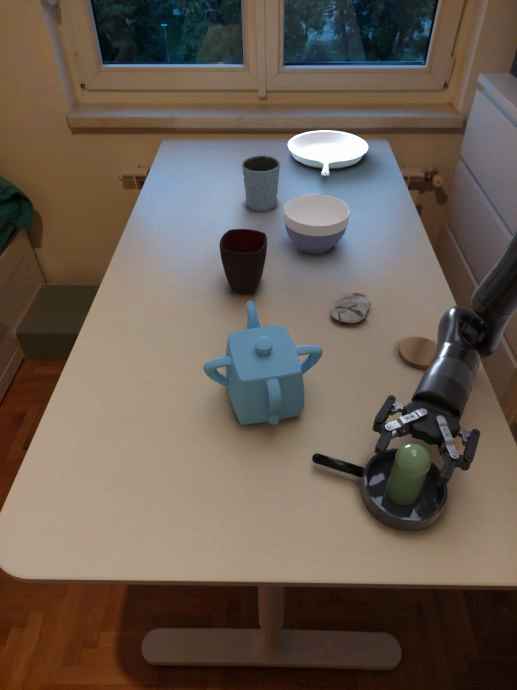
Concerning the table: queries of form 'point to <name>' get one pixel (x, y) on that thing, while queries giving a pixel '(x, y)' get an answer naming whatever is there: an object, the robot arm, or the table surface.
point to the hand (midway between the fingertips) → (409, 468)
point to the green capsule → (408, 473)
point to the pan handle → (338, 465)
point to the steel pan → (396, 514)
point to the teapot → (263, 371)
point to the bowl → (316, 221)
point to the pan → (327, 149)
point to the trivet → (418, 352)
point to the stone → (351, 308)
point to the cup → (243, 258)
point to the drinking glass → (261, 182)
